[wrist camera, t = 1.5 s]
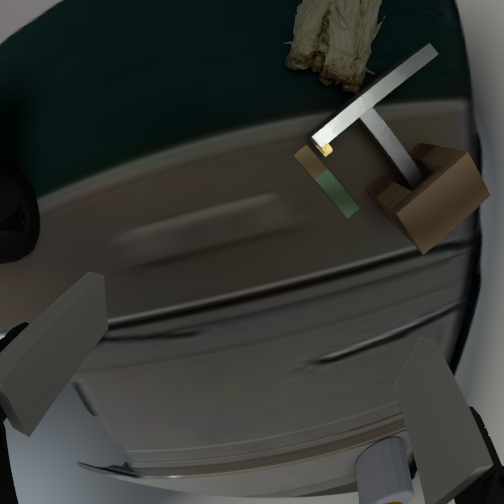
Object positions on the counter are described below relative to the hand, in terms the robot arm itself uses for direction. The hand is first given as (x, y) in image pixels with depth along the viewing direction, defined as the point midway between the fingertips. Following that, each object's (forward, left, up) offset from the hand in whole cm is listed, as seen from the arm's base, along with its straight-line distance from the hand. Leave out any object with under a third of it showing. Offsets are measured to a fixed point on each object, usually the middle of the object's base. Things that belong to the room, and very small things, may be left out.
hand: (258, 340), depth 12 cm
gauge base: (+4, +11, -24) cm, 26 cm away
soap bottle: (+51, -16, -24) cm, 59 cm away
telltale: (-1, +8, -24) cm, 25 cm away
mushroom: (-10, +17, -24) cm, 32 cm away
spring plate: (+2, +14, -23) cm, 27 cm away
